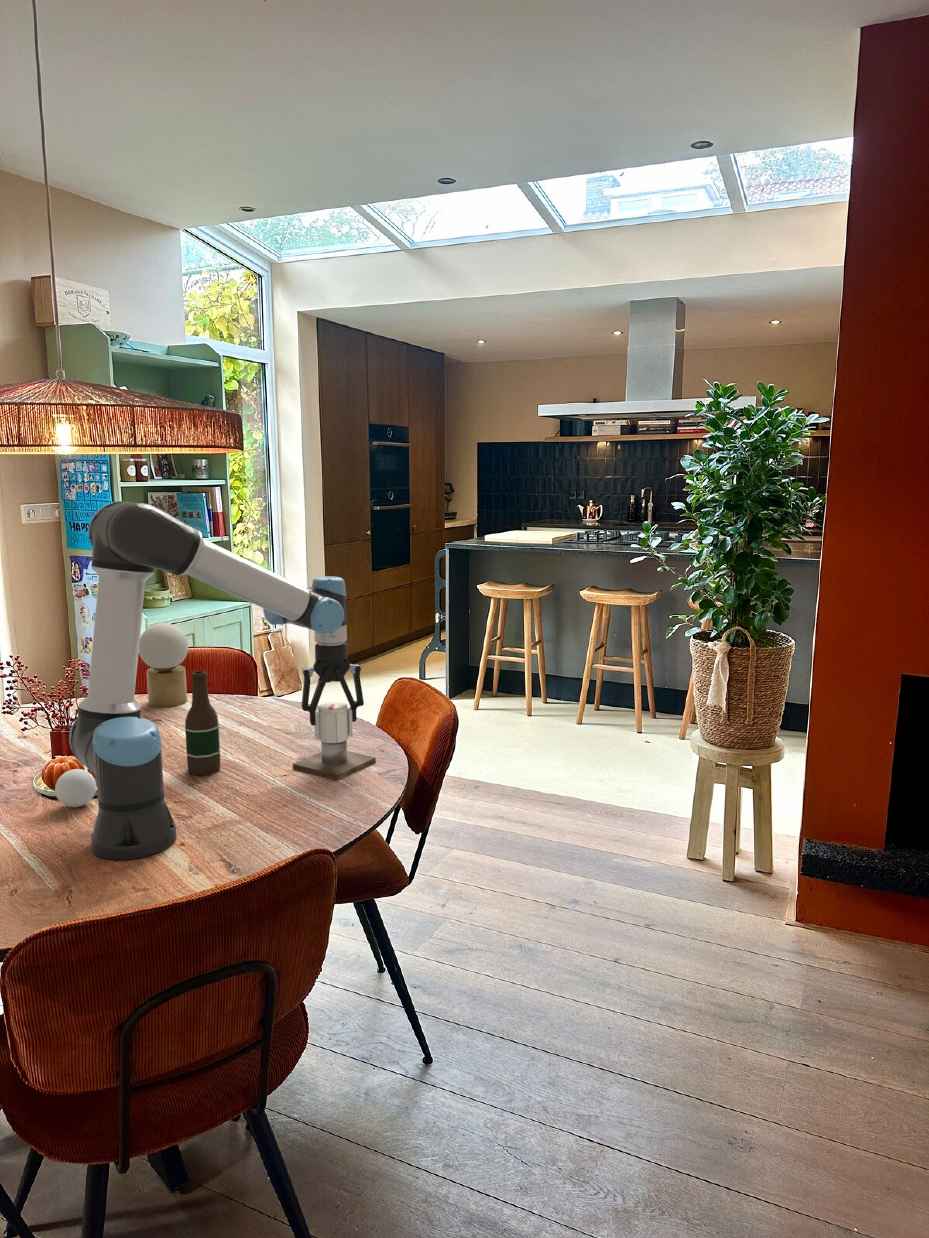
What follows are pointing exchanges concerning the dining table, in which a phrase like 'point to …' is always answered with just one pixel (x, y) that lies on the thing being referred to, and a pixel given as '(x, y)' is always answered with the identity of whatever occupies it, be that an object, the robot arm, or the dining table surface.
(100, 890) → the dining table surface
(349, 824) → the dining table surface
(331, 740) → the canister
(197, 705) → the beer bottle
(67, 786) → the ball
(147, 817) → the robot arm
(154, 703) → the lamp
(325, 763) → the post block
